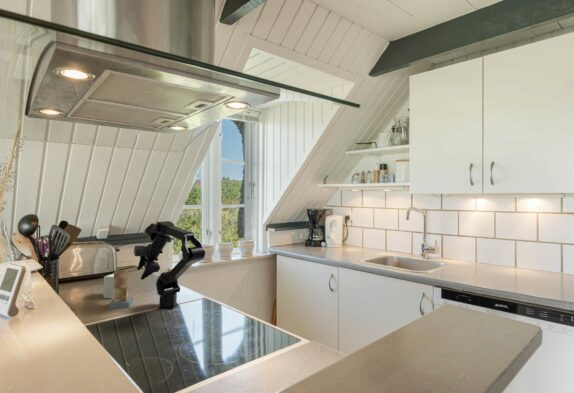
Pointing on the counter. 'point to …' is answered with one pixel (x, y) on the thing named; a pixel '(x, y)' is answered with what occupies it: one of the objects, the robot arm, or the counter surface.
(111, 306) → the slate base block
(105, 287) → the small box
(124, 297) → the oak pillar
